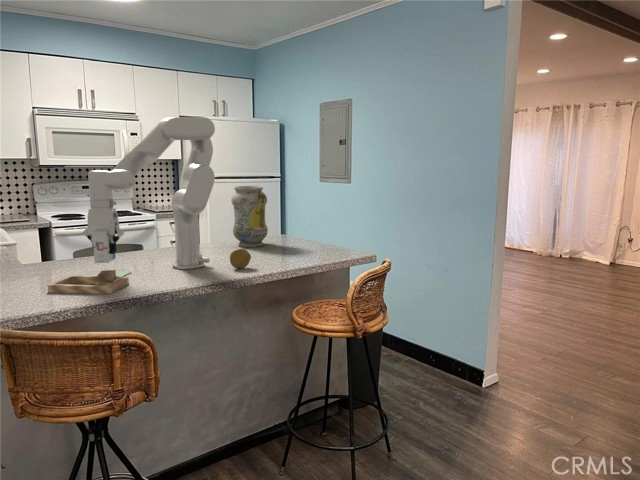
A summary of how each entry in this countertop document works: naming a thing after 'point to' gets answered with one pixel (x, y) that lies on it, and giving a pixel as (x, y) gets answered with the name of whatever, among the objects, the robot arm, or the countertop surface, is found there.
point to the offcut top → (106, 276)
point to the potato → (240, 258)
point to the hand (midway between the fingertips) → (104, 252)
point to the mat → (118, 273)
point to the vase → (249, 215)
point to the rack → (65, 286)
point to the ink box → (102, 247)
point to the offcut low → (108, 283)
